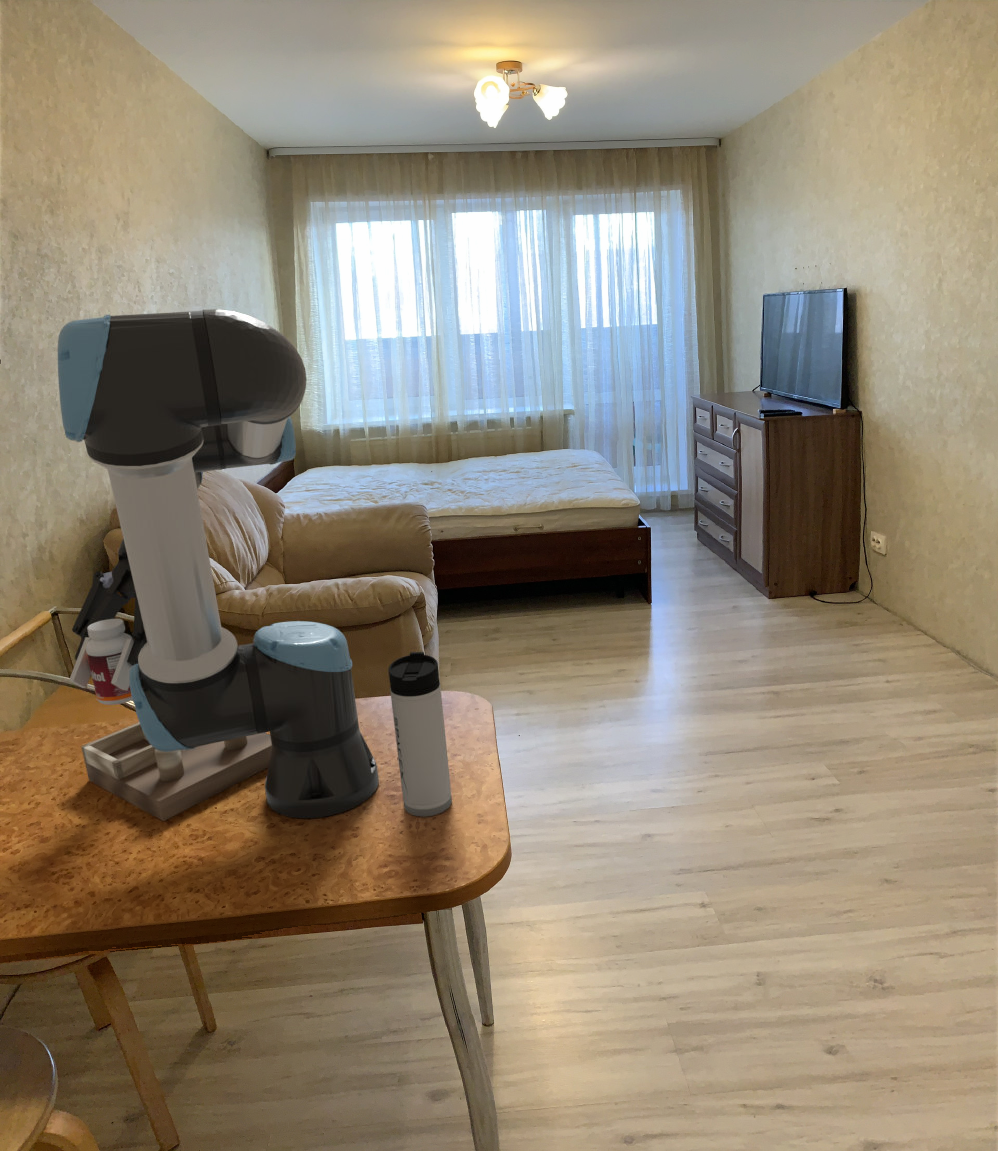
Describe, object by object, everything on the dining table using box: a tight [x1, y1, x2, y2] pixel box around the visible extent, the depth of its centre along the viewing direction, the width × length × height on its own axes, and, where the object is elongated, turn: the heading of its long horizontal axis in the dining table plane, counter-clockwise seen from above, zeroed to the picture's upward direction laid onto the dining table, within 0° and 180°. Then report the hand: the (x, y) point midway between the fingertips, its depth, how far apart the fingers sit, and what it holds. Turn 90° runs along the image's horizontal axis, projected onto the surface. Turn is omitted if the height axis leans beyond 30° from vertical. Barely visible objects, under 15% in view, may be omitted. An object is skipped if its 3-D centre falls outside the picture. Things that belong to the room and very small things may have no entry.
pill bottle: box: [86, 618, 134, 706], centre depth 124 cm, size 6×6×11 cm
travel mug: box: [388, 651, 453, 818], centre depth 112 cm, size 6×7×20 cm
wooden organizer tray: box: [80, 721, 272, 822], centre depth 128 cm, size 20×20×7 cm
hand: (98, 685), depth 121 cm, fingers closed on pill bottle, 6 cm apart
